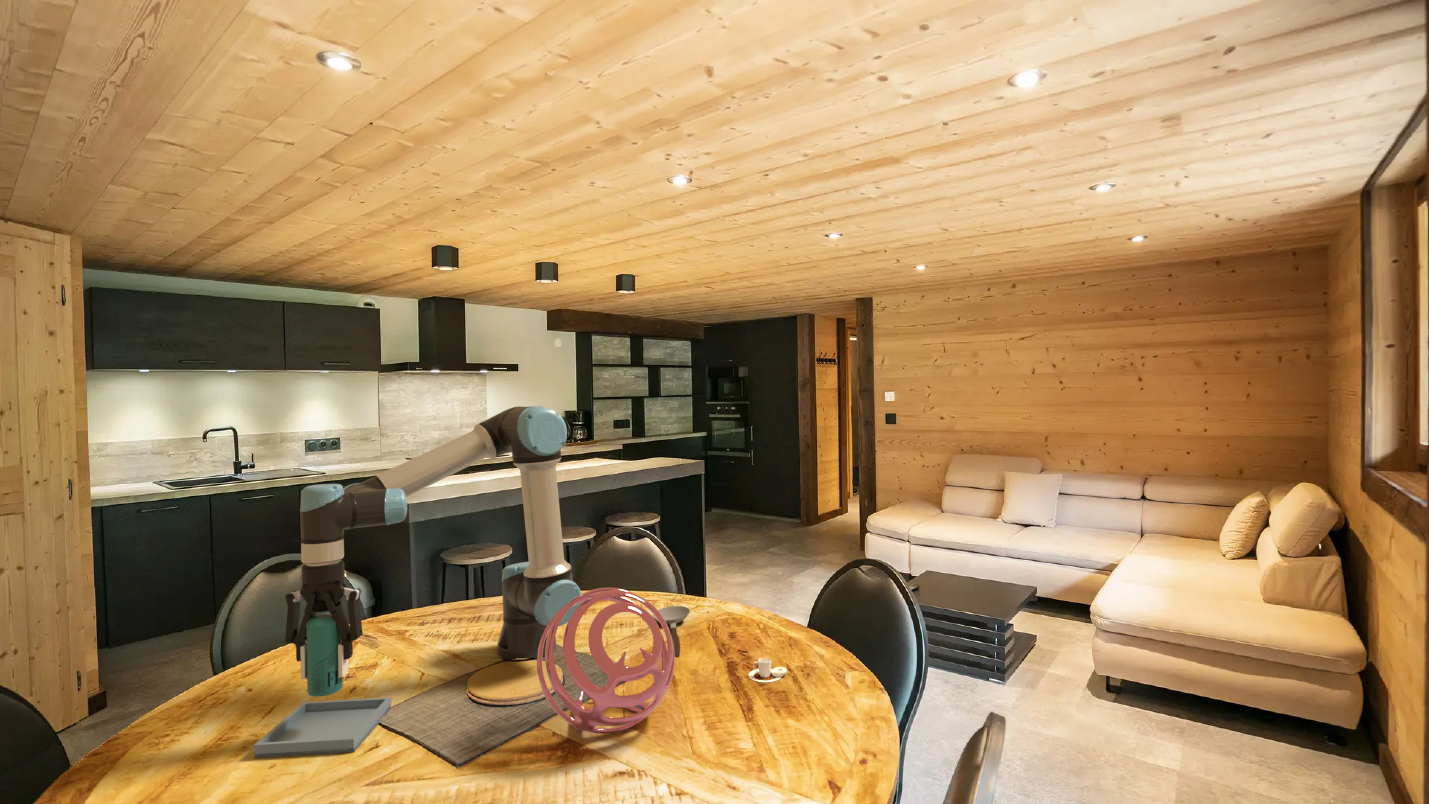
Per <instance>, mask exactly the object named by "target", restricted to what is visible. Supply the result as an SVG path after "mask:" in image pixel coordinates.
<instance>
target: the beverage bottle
mask: <svg viewBox="0 0 1429 804" xmlns="http://www.w3.org/2000/svg"><path fill="white" fill-rule="evenodd" d="M312 612H316V613H318V614H316V615H315V616H313V617H312V618H311V619H310V620H309V621H308V622H307V623H306V633H307V641H306V643H307V664H306V665H307V677H306V679H305V680H306V684H307V694H308V695H309V696H310V697H312V698H313V697H314V698H316V697H327V696H330V695H334V694H336V693H338V692H339V691H341V690H342V688H343V685H344V677H345V676H343V677H339V675H338V645H339V644H340V643H341V642H342V641H341V638H340V635H339V633H338V630H337V628H336V622H335V621H334V620H333V617H332V614H331V613H329V610H328V608H327V605H326V603H325V601H315V602H314V604H313V608H312ZM322 612H323V613H322Z"/></svg>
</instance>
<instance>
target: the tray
mask: <svg viewBox="0 0 1429 804" xmlns="http://www.w3.org/2000/svg"><path fill="white" fill-rule="evenodd" d="M390 709H391V710H392V697H391V696H390V697H375V698H374V697H372V698H357V699H356V698H355V699H341V700H340V699H338V700H336V699H335V700H322V701H321V700H320V701H305V702H302V703H301V704H300V705H299V706H298V707H296V708H295V709H294V710H293V711H292V712H290V714H289V715H287V716H286V717H285V718H284V719H283V720H281V722H279V723H278V724H277V725H276V726H274V727H273V728H272V729H271V730H270V731H269V732H267V733H266V734H265V735H264V736H263V737H262V738H261V739H259V740H258V741H257V742H255V744H254V745H253V749H254V751H253V755H254V756H253V757H254V759H264V758H265V759H266V758H281V757H282V758H283V757H297V756H298V757H299V756H312V755H313V756H314V755H327V754H329V755H330V754H344V753H346V754H347V753H355V752H356V751H357V749H358V748H359V747H360V746H361V745H362V744H363V742H364V741H365V740H366V739H367V738H368V736H369V735H371V733H372V732H373V731H374V730H375V729H376V728H377V726H378V725H379V724H380V722H381V721H380V719H382V717H383V716H385V717H386V715H387V714H388V713H389V712H390V711H391V710H390ZM389 710H390V711H389ZM388 711H389V712H388ZM387 712H388V713H387ZM385 714H386V715H385ZM382 720H383V719H382ZM379 721H380V722H379Z"/></svg>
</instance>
